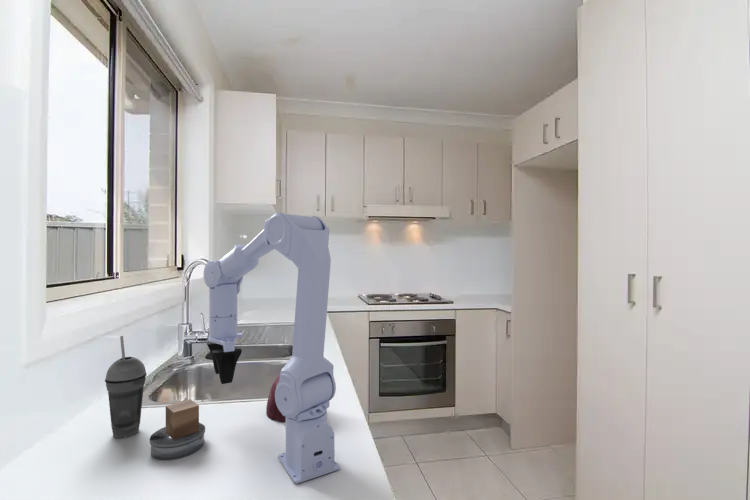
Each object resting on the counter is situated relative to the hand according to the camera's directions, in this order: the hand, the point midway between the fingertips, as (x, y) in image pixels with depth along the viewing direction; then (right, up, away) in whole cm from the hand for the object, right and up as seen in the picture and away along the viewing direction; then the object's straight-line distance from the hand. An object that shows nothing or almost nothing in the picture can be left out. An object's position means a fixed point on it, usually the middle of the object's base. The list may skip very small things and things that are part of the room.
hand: (223, 377), depth 82 cm
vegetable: (+13, -10, +5) cm, 17 cm away
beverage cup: (-18, -10, -4) cm, 21 cm away
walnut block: (-4, -7, -10) cm, 13 cm away
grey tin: (-5, -10, -10) cm, 15 cm away
